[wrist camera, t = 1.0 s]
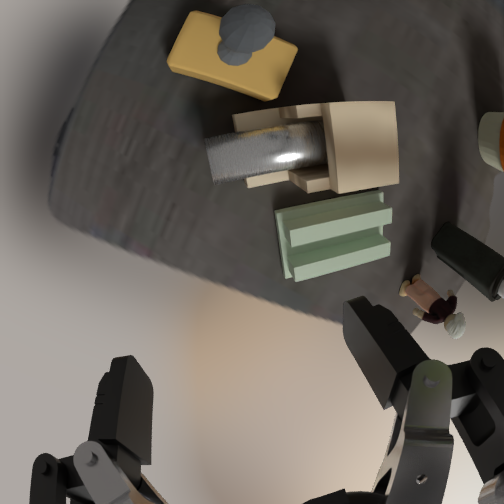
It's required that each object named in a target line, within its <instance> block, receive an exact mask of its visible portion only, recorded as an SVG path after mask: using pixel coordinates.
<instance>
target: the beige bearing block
mask: <svg viewBox="0 0 504 504" xmlns="http://www.w3.org/2000/svg"><path fill="white" fill-rule="evenodd" d="M232 118H233V123H234V128H235V132H239V131H245V130H250V129H256V128H262V127H268V126H275V125H282V124H289V123H297V122H306V121H315V120H323V123H324V131H325V139H326V147H327V156H328V164H321V165H315V166H309V167H303V168H297V169H291V170H285V171H280V172H274V173H269V174H264V175H259V176H254V177H249V178H244V181H245V184H246V186H247V187H248V188H251V187H256V186H261V185H266V184H271V183H276V182H281V181H286V180H290V181H291V182H293V183H294V184H296V185H297V186H298V187H300V188H301V189H303V190H304V191H305V192H307V193H312V192H317V191H323V190H328V189H331V190H333V191H335V192H336V193H338V194H341V193H346V192H352V191H357V190H363V189H368V188H374V187H380V186H386V185H392V184H398V183H399V157H398V137H397V123H396V112H395V103H394V102H391V101H356V102H332V103H318V104H306V105H296V106H288V107H280V108H273V109H265V110H259V111H252V112H246V113H240V114H235V115H232Z"/></svg>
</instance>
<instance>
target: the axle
mask: <svg viewBox="0 0 504 504" xmlns="http://www.w3.org/2000/svg"><path fill="white" fill-rule="evenodd" d="M204 140H205V145H206V150H207V154H208V159H209V164H210V168H211V173H212V177H213V182H214V185H217V184H221V183H226V182H230V181H235V180H240V179H244V178H249V177H254V176H259V175H264V174H269V173H274V172H280V171H285V170H291V169H297V168H303V167H309V166H315V165H321V164H328V156H327V147H326V139H325V131H324V123H323V120H315V121H306V122H297V123H289V124H282V125H275V126H268V127H262V128H256V129H250V130H245V131H239V132H234V133H229V134H224V135H219V136H214V137H210V138H205V139H204Z"/></svg>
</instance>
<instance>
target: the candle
mask: <svg viewBox="0 0 504 504" xmlns="http://www.w3.org/2000/svg"><path fill="white" fill-rule="evenodd" d="M431 247H432V249H433V250H435V252H436V254H437V255H438V256H437V257H438V258H439V259H440V260H441V261H443V262H444V263H445V264H447V265H448V266H449V267H450V268H452V269H453V270H454V271H455V272H457V273H458V274H459V275H460V276H462V277H463V278H464V279H465V280H467V281H468V282H469V283H471V285H473V286H474V287H475V288H476V289H478V290H479V291H480V292H481V293H482V294H483V295H485V296H486V297H487V298H488V299H489V300H490V301H495V300H498V299H500V298H501V297H502V298H503V299H504V257H503V256H501V255H500V254H498V253H497V252H495V251H494V250H493V249H491V248H490V247H488V246H487V245H485V244H483V243H482V242H480V241H479V240H477V239H476V238H474V237H473V236H471V235H469V234H468V233H466V232H464V231H463V230H461V229H459V228H458V227H456V226H454V225H453V224H451V223H449V222H447V223H445V224H444V226H443V227H442V228H441V230H440V231H439V232H438V234H437V235H436V236H435V237H434V239H433V241H432V243H431Z"/></svg>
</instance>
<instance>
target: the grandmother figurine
mask: <svg viewBox="0 0 504 504" xmlns="http://www.w3.org/2000/svg"><path fill="white" fill-rule="evenodd" d="M399 295H401V296H406V295H408V296H409V297H410V298H412V299H413V300H414V301H415V302H416V303H417V304H418V305H419V306H420V307H421V308H423V309H424V310H425V311H427V312H428V313H427V312H424V311H422V310H419V309H418V308H415V309H414V310H413V314H414V315H416V316H418V317H419V318H421V319H422V320H424V321H427V322H430V323H433V324H438V323H442V322H444V327H445V329H446V330H447V332H448V333H449V335H450V336H451V337H452V338H455V339H457V338H459V337H461V336H462V335H463V333H464V331H465V326H466V322H465V318H464V316H463V314H462V313H461V312H459V313H457V314H453V313H454V311H455V309H456V305H457V297H456V296H455V295H454V294H453V291H452V290H448V292H447V295H448V296H449V298H448V299H447V301H445V300H444V299H443V298H441V297H440V296H439V294H438V293H437V292H436V291H435V290H434V289H433V288H432V287H430V286H429V285H428V284H426V283H425V282H424V281H423V280H421V278H420V275H419V274H416V275H415V276H414V277H413V278H412V285H410V281H409V280H406V281H404V282H403V283H402V285H401V288H400V291H399Z"/></svg>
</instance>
